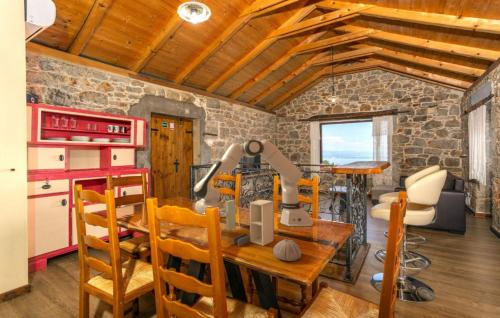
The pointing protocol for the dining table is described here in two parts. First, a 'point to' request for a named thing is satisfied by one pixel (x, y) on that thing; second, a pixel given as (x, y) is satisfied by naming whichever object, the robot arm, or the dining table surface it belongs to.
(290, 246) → the sea urchin shell
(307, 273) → the dining table surface
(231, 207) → the door
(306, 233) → the dining table surface
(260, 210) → the cabinet
